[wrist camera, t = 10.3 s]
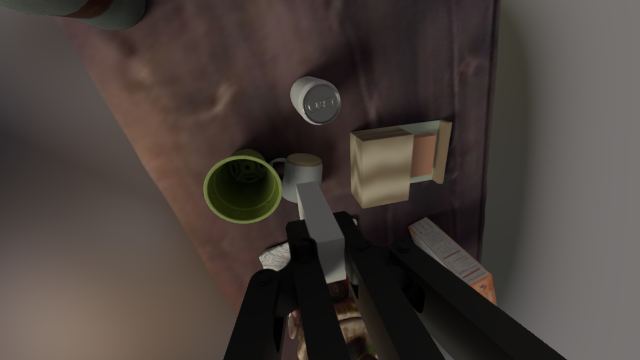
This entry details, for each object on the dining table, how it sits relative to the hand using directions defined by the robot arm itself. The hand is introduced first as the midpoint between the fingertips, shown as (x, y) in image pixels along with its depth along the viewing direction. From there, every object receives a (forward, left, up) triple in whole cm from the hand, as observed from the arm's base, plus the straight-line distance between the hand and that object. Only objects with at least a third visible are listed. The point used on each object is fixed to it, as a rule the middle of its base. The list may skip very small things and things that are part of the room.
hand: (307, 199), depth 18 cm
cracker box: (+37, +34, -33) cm, 60 cm away
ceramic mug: (+12, +2, -33) cm, 35 cm away
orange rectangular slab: (+12, +29, -30) cm, 44 cm away
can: (-3, +6, -33) cm, 33 cm away
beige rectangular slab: (+12, +19, -32) cm, 39 cm away
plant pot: (+9, -7, -33) cm, 35 cm away
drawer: (+12, +30, -32) cm, 45 cm away
